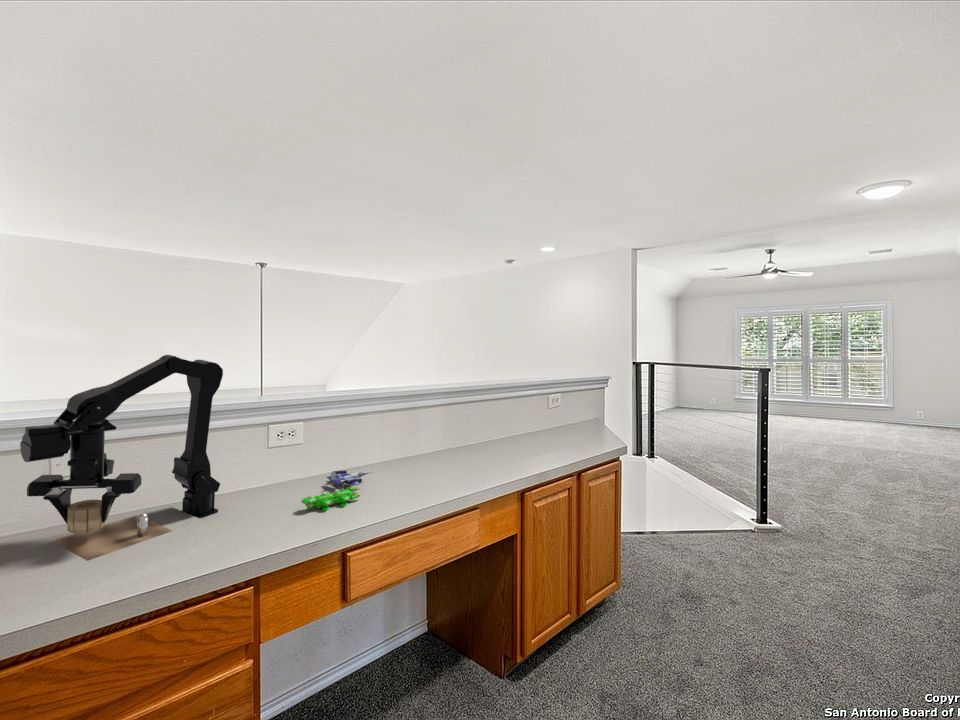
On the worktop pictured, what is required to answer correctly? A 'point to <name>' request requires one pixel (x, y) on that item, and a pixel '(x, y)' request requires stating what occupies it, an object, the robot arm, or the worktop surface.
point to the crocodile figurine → (331, 499)
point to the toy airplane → (345, 478)
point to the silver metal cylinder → (142, 525)
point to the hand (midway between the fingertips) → (86, 522)
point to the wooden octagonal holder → (84, 516)
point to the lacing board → (109, 538)
